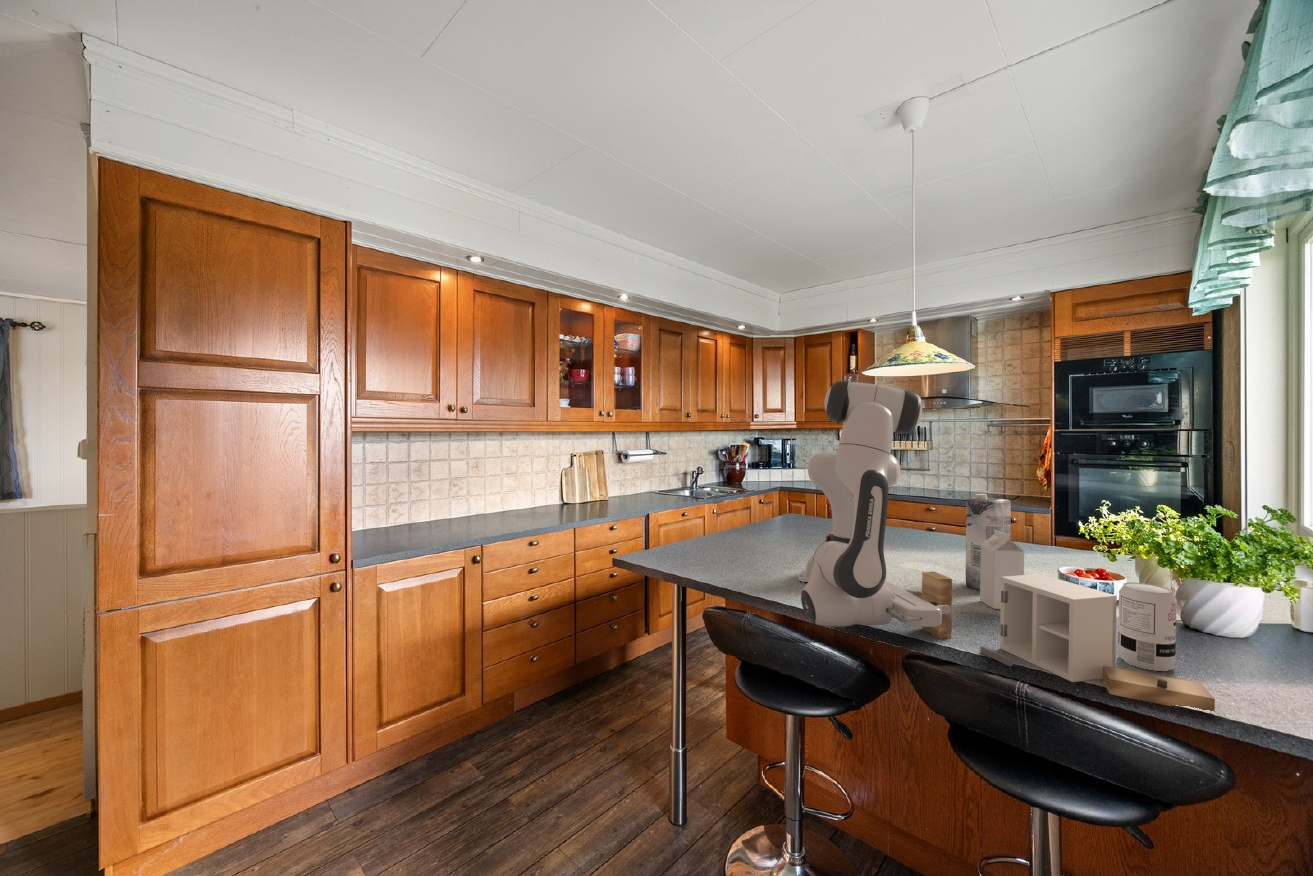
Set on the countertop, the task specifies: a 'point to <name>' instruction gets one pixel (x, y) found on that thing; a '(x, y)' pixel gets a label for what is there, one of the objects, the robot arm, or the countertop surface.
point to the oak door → (938, 600)
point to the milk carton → (998, 566)
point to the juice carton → (983, 530)
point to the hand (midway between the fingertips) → (933, 601)
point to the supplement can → (1147, 626)
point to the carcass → (1057, 626)
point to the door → (1157, 689)
